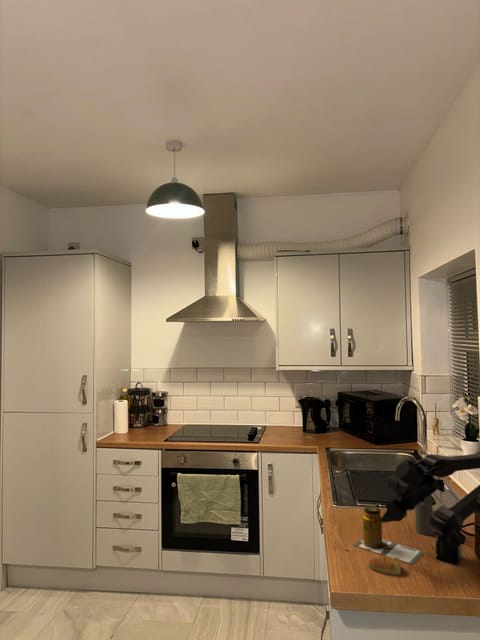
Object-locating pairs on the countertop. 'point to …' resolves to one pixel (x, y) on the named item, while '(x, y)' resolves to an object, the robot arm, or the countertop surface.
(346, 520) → the countertop surface
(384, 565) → the pastry
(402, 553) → the mat
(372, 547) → the condiment
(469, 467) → the robot arm
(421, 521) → the bottle
